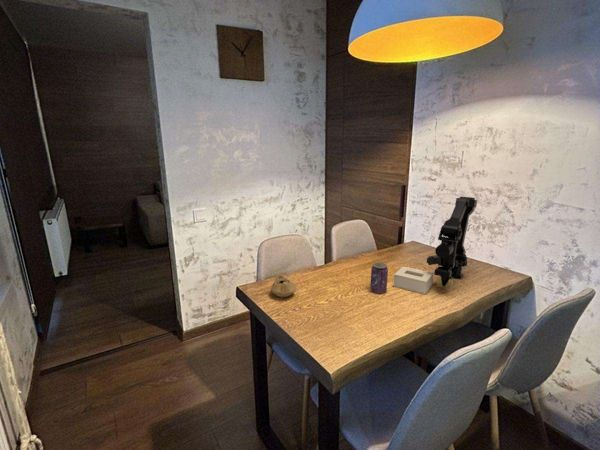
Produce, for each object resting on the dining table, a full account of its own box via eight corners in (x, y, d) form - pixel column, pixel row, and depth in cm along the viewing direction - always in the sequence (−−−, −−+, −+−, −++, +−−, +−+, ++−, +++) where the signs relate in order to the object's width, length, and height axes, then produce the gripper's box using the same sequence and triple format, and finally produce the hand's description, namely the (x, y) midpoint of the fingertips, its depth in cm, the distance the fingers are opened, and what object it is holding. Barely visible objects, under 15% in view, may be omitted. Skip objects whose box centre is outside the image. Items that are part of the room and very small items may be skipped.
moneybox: (402, 277, 156) (403, 266, 155) (432, 285, 148) (433, 272, 147) (393, 286, 147) (394, 274, 145) (425, 294, 139) (426, 281, 137)
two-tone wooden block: (438, 284, 149) (439, 274, 148) (452, 288, 146) (453, 277, 144) (436, 286, 147) (437, 276, 146) (450, 289, 144) (452, 279, 142)
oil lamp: (286, 284, 149) (286, 268, 147) (301, 297, 136) (301, 280, 134) (264, 289, 144) (263, 272, 143) (277, 303, 132) (277, 285, 130)
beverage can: (367, 288, 145) (368, 263, 142) (380, 286, 147) (382, 261, 144) (375, 295, 138) (377, 269, 136) (389, 292, 141) (391, 267, 138)
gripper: (434, 243, 154) (431, 273, 158) (423, 254, 139) (420, 287, 143) (460, 247, 148) (456, 279, 152) (451, 259, 133) (447, 293, 137)
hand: (444, 284), depth 146 cm, fingers open, 3 cm apart
